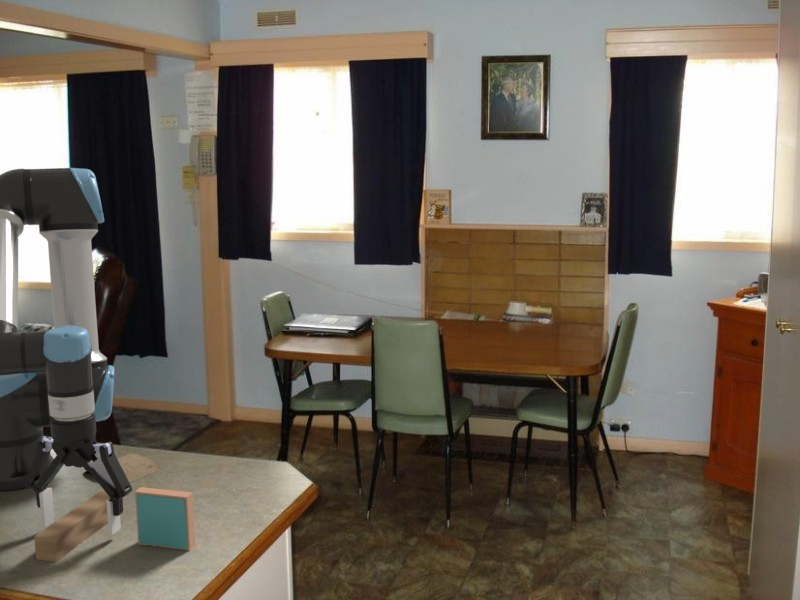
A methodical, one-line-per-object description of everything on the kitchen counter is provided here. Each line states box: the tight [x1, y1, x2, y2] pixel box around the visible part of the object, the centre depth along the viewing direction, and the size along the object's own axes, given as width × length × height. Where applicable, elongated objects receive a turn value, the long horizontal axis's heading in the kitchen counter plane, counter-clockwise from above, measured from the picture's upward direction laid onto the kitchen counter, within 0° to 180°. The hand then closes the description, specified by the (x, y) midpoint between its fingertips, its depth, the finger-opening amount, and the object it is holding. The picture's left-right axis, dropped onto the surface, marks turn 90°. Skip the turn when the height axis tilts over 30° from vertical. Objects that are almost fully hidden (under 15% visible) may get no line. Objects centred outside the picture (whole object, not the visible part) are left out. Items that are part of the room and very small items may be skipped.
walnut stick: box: [33, 489, 110, 563], centre depth 154 cm, size 20×4×4 cm, turn 165°
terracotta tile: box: [134, 486, 196, 551], centre depth 150 cm, size 2×10×10 cm, turn 76°
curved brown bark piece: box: [85, 453, 162, 484], centre depth 183 cm, size 14×10×3 cm
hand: (81, 527), depth 154 cm, fingers open, 13 cm apart
